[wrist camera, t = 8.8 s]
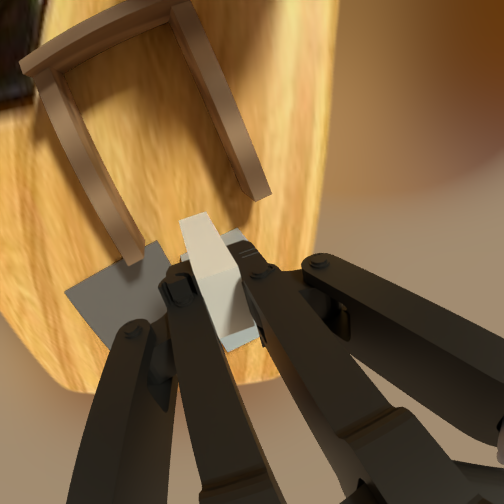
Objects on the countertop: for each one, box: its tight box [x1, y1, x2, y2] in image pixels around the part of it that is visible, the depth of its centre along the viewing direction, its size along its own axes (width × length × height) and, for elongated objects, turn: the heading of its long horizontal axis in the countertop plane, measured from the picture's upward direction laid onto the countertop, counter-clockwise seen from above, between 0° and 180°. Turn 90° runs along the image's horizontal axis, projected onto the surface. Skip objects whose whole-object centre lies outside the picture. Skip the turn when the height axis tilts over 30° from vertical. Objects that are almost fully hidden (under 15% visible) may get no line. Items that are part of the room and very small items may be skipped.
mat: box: [64, 240, 172, 350], centre depth 30 cm, size 11×11×1 cm
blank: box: [181, 228, 260, 352], centre depth 29 cm, size 8×6×6 cm
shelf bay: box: [19, 0, 272, 266], centre depth 21 cm, size 18×13×6 cm
